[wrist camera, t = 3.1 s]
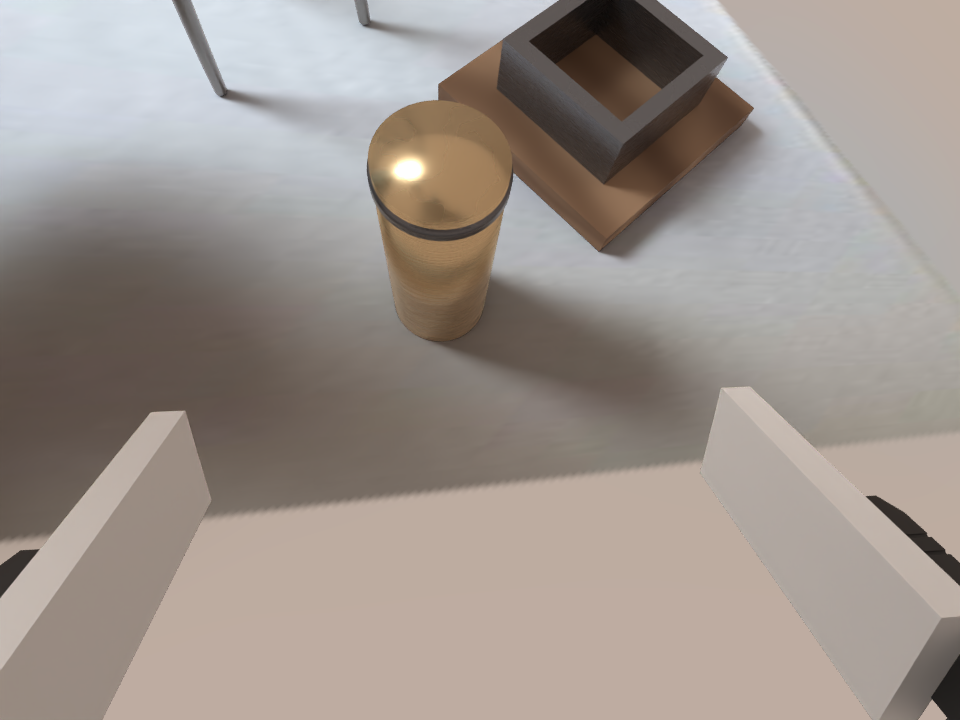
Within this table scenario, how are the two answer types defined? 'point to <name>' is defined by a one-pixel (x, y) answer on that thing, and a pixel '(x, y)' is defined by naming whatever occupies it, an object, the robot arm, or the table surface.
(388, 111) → the table surface
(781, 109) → the table surface
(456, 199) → the gold canister
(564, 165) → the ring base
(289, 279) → the table surface
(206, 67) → the juicer
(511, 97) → the grey square frame
